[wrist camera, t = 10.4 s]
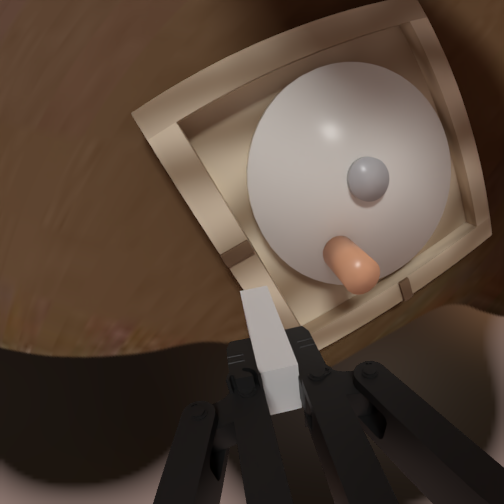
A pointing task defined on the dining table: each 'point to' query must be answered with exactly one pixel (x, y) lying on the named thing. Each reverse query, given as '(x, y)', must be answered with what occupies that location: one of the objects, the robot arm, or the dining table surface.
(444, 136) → the dial
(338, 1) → the dining table surface
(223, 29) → the dining table surface
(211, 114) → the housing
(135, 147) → the dining table surface
